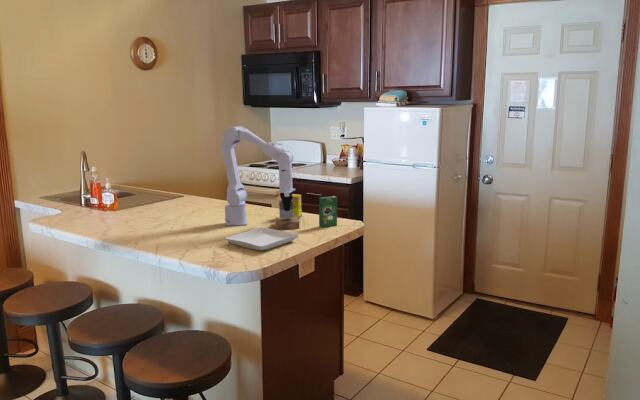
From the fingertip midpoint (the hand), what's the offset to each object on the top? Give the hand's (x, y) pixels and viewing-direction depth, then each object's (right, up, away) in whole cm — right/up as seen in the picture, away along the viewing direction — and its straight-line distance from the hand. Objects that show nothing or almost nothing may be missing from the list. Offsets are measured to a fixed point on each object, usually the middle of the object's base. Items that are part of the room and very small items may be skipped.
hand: (286, 209), depth 226 cm
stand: (0, -7, +1) cm, 8 cm away
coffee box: (+18, -7, 0) cm, 20 cm away
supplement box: (+3, -4, +17) cm, 17 cm away
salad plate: (-8, -13, -24) cm, 28 cm away
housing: (0, -3, +1) cm, 3 cm away
